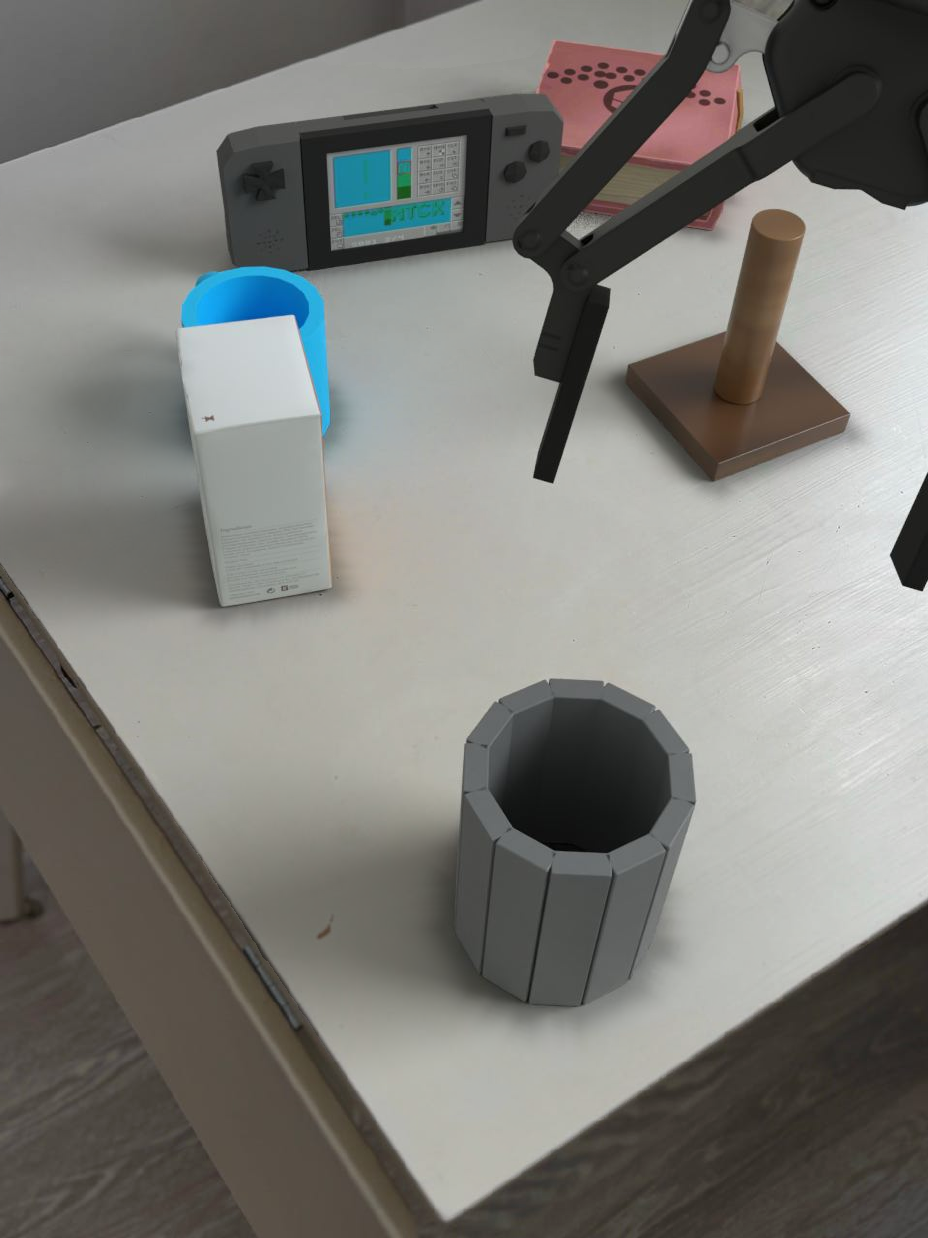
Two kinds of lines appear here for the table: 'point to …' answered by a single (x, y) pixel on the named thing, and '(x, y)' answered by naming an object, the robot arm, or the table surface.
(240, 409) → the small box
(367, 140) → the handheld gaming console
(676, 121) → the book
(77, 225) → the table surface
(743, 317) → the stand
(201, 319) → the mug
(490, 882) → the slatted grey tube
